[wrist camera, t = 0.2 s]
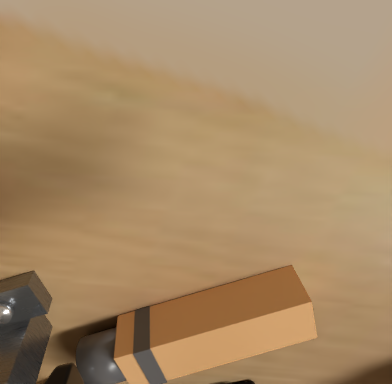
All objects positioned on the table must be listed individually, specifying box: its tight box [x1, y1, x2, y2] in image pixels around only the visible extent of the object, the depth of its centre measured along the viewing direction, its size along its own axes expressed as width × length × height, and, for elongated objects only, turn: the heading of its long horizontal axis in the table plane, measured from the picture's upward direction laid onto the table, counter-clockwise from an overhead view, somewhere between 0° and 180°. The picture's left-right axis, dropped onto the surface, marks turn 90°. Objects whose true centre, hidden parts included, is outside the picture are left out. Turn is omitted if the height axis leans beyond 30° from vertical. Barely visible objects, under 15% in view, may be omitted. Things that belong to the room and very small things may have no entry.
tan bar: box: [76, 265, 317, 384], centre depth 27 cm, size 17×4×4 cm, turn 105°
